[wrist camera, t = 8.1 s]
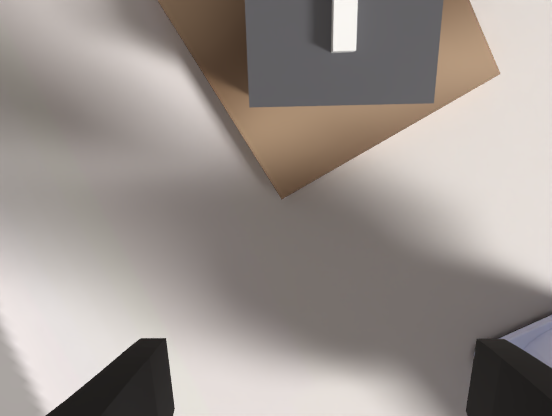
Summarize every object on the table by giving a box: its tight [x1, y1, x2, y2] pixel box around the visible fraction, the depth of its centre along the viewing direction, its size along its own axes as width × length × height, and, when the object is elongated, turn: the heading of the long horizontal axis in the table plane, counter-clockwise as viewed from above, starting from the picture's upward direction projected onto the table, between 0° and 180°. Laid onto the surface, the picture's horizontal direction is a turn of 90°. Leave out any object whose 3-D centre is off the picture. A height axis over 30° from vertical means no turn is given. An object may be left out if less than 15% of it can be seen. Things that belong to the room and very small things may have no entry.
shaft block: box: [158, 0, 500, 199], centre depth 14 cm, size 10×10×4 cm
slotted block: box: [245, 0, 443, 108], centre depth 13 cm, size 5×5×6 cm
